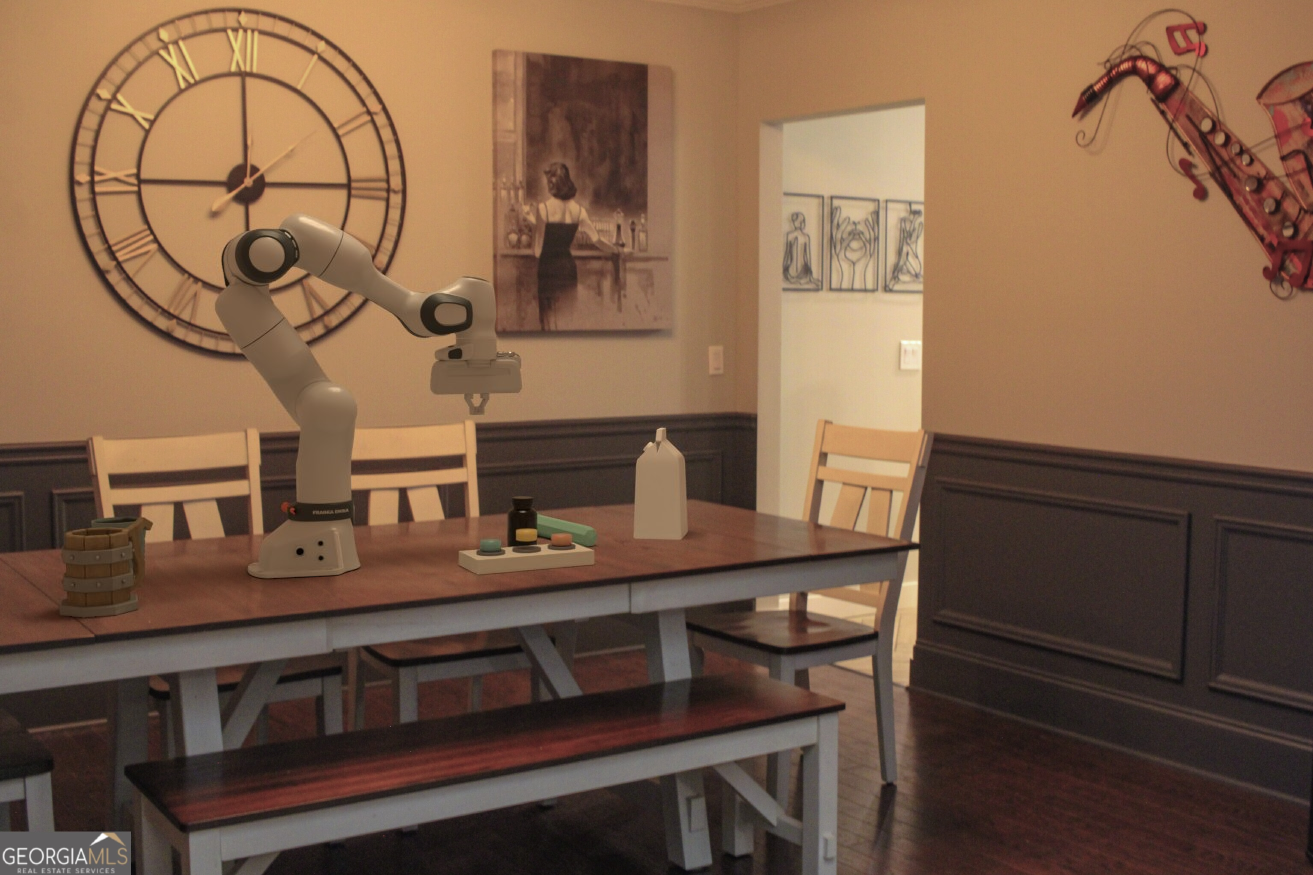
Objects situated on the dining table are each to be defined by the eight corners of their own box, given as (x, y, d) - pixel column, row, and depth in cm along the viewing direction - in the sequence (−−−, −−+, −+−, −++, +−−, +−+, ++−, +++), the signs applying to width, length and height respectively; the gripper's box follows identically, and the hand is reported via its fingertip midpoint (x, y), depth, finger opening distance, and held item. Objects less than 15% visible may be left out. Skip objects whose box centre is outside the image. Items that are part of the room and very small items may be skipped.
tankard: (99, 620, 218) (96, 533, 217) (43, 614, 223) (40, 528, 222) (182, 597, 237) (180, 517, 235) (129, 592, 241) (127, 513, 240)
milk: (681, 539, 305) (681, 431, 303) (633, 538, 307) (633, 430, 304) (687, 531, 317) (688, 427, 314) (641, 530, 318) (642, 426, 316)
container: (598, 520, 294) (538, 507, 314) (578, 532, 291) (519, 518, 311) (605, 543, 296) (545, 528, 316) (586, 555, 293) (526, 539, 313)
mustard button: (520, 541, 268) (520, 532, 268) (513, 538, 272) (513, 529, 271) (540, 540, 270) (540, 530, 270) (532, 537, 274) (532, 528, 273)
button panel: (477, 574, 260) (477, 557, 260) (458, 565, 270) (458, 548, 270) (594, 564, 272) (594, 547, 271) (571, 555, 282) (571, 539, 282)
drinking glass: (89, 585, 248) (87, 524, 247) (96, 575, 258) (94, 516, 257) (145, 582, 251) (143, 522, 250) (150, 573, 260) (149, 514, 259)
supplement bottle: (532, 552, 286) (532, 499, 285) (503, 551, 287) (502, 498, 286) (541, 547, 292) (541, 495, 291) (512, 546, 294) (512, 494, 293)
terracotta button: (556, 546, 271) (555, 537, 271) (548, 543, 275) (548, 534, 275) (575, 544, 273) (575, 535, 273) (566, 541, 277) (566, 532, 277)
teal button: (484, 552, 264) (484, 542, 264) (477, 549, 268) (477, 539, 268) (504, 550, 266) (504, 541, 266) (497, 547, 270) (497, 538, 270)
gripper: (515, 351, 287) (516, 412, 289) (427, 351, 278) (428, 415, 279) (526, 351, 282) (526, 414, 283) (436, 352, 273) (437, 416, 274)
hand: (476, 414), depth 281 cm, fingers closed
